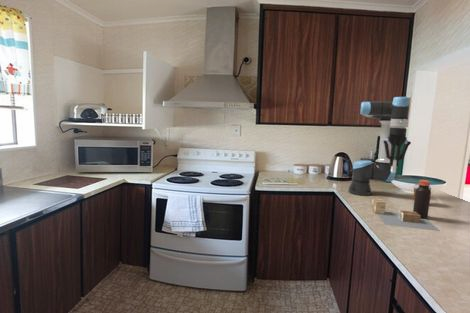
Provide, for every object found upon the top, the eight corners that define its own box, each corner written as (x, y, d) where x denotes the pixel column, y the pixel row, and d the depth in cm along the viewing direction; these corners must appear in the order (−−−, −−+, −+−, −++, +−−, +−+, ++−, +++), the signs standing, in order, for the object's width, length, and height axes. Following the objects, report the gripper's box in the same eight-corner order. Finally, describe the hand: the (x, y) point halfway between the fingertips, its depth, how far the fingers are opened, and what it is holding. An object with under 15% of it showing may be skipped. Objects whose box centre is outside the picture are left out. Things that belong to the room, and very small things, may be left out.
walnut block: (399, 210, 147) (416, 211, 145) (398, 217, 147) (415, 219, 146) (403, 213, 141) (420, 215, 139) (402, 221, 142) (419, 223, 140)
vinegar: (430, 218, 147) (435, 182, 144) (420, 219, 145) (425, 182, 142) (418, 214, 154) (423, 179, 151) (409, 215, 152) (414, 179, 149)
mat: (374, 211, 158) (374, 210, 158) (421, 216, 152) (421, 215, 152) (385, 225, 137) (385, 224, 136) (440, 231, 131) (440, 230, 131)
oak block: (371, 210, 157) (372, 198, 156) (380, 211, 157) (381, 199, 156) (375, 213, 152) (376, 201, 151) (384, 214, 152) (385, 202, 151)
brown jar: (413, 200, 181) (415, 183, 179) (430, 204, 174) (433, 186, 172) (409, 203, 174) (411, 185, 172) (427, 207, 167) (429, 188, 166)
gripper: (386, 127, 140) (381, 172, 143) (415, 128, 136) (409, 174, 140) (382, 126, 147) (377, 169, 150) (409, 127, 143) (404, 171, 147)
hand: (393, 172), depth 145 cm, fingers closed
